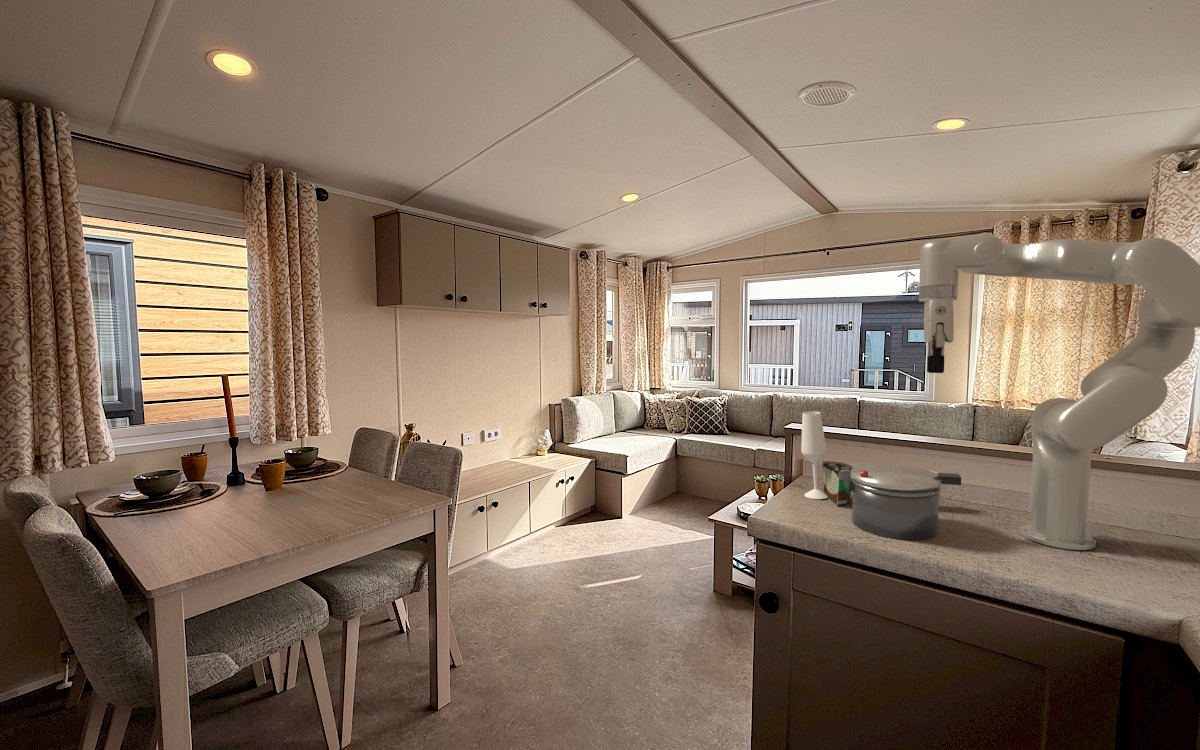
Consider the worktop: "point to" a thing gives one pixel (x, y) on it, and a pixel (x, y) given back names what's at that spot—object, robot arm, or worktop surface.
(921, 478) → the cooker lid
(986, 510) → the worktop surface
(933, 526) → the cooker pot
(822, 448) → the champagne flute
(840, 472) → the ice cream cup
